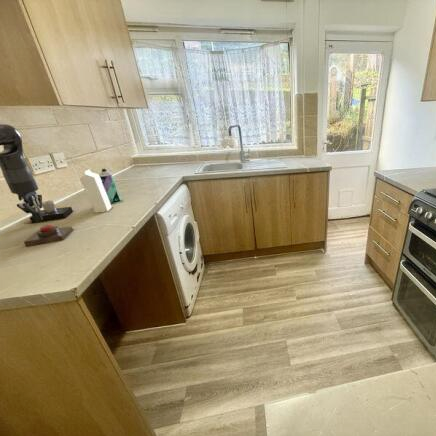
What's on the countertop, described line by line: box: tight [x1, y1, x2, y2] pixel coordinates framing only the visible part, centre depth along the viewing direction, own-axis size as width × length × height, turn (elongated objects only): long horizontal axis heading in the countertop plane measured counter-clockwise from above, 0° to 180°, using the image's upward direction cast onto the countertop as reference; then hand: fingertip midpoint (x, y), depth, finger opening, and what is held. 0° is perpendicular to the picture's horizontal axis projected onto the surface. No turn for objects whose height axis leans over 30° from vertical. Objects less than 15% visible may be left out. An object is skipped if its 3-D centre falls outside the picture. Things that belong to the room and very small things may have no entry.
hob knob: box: [42, 200, 57, 213], centre depth 122 cm, size 4×4×5 cm
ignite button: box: [39, 224, 53, 232], centre depth 101 cm, size 4×4×2 cm
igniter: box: [23, 225, 74, 248], centre depth 102 cm, size 12×10×4 cm
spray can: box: [98, 168, 122, 204], centre depth 138 cm, size 6×6×20 cm
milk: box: [80, 168, 112, 214], centre depth 126 cm, size 6×6×22 cm
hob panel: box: [29, 206, 74, 224], centre depth 124 cm, size 13×10×3 cm
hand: (39, 220), depth 101 cm, fingers closed
